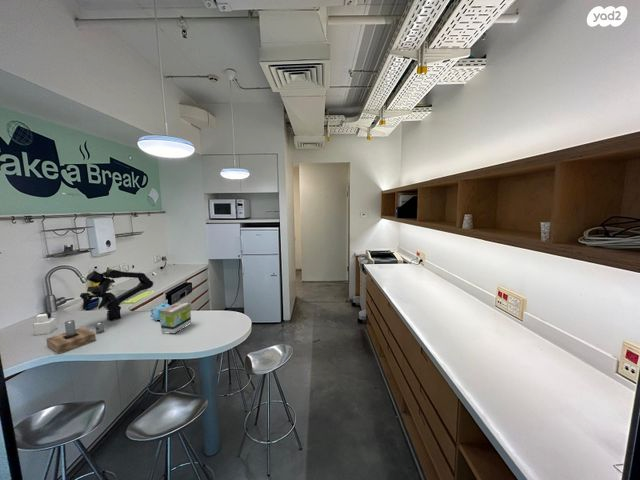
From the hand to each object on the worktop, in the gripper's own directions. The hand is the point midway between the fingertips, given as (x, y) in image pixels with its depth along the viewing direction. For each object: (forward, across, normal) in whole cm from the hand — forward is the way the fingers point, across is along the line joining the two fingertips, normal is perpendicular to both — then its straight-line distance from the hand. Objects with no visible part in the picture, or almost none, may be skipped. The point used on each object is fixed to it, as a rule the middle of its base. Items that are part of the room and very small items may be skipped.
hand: (91, 308), depth 163 cm
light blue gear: (-1, +36, +21) cm, 42 cm away
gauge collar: (+22, +2, -2) cm, 22 cm away
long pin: (+22, +2, -2) cm, 22 cm away
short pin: (+12, +7, +7) cm, 16 cm away
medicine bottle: (+11, -27, +8) cm, 30 cm away
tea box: (+10, +52, +9) cm, 54 cm away
